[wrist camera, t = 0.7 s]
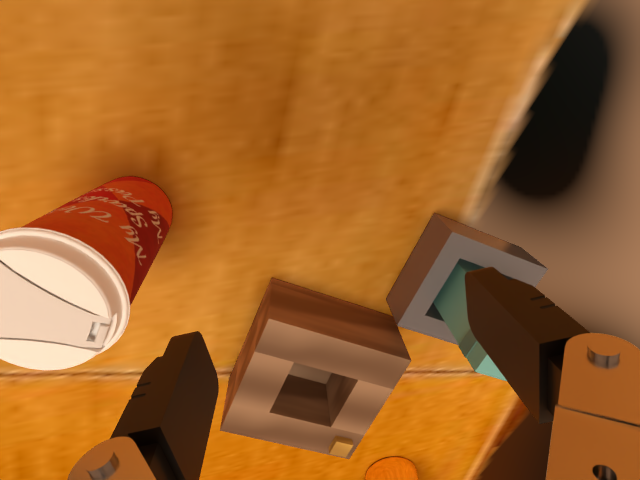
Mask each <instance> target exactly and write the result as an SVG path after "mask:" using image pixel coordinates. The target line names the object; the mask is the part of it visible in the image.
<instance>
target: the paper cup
mask: <svg viewBox="0 0 640 480" xmlns="http://www.w3.org/2000/svg"><path fill="white" fill-rule="evenodd" d="M171 222H172V207H171V204H170V201H169V199H168V197H167V196H166V194H165V193H164V192H163V191H162V190H161V189H160V188H159V187H158V186H157V185H155V184H154V183H152V182H150V181H148V180H146V179H143V178H139V177H132V176H128V177H121V178H117V179H115V180H112V181H110V182H108V183H106V184H104V185H101V186H100V187H98V188H96V189H94V190H92V191H90V192H88V193H86V194H84V195H82V196H80V197H78V198H76V199H74V200H72V201H70V202H68V203H67V204H65V205H63V206H61V207H59V208H57V209H55V210H53V211H51V212H49V213H48V214H46V215H44V216H42V217H40V218H38V219H36V220H34V221H32V222H30V223H29V224H27V225H25V226H23V227H21V228H13V229H8V230H4V231H0V359H2V360H4V361H7V362H9V363H12V364H15V365H18V366H21V367H26V368H30V369H38V370H58V369H66V368H69V367H73V366H76V365H79V364H81V363H84V362H86V361H88V360H89V359H91V358H92V357H94V356H95V355H97V354H99V353H102V352H103V351H105V350H106V349H108V348H110V347H111V346H112V345H113V344H114V343H115V342H116V341H117V340H118V339H119V338H120V337H121V335H122V334H123V332H124V330H125V328H126V326H127V324H128V320H129V316H130V305H131V303H132V302H133V300H134V298H135V296H136V294H137V292H138V290H139V288H140V286H141V284H142V282H143V280H144V278H145V276H146V274H147V273H148V271H149V269H150V267H151V265H152V263H153V261H154V259H155V257H156V255H157V253H158V251H159V249H160V247H161V245H162V243H163V241H164V239H165V237H166V235H167V233H168V230H169V228H170V225H171Z"/></svg>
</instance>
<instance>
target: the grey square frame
mask: <svg viewBox="0 0 640 480" xmlns="http://www.w3.org/2000/svg"><path fill="white" fill-rule="evenodd" d="M460 258H461V259H464V260H466V261H469V262H472V263H474V264H477V265H480V266H482V267H485V268H487V267H494V268H495V269H496V270H498V271H499V272H500V273H501V274H502V275H503V276H504V277H506V278H507V279H508V280H511V279H517V280H520V281H522V282H525V283H527V284H530V285H532V286H534V287H536V285H537V284H538V282H539V281H540V280H541V278H542V277H543V275H544V274H545V273H546V271H547V270H548V269H547V268H546V267H545V266H544V265H542V264H541V263H540V262H539V261H537V260H536V259H535V258H534V257H532V256H531V255H530V254H529V253H527V252H526V251H525V250H524V249H522V248H521V247H519V246H516V245H514V244H511V243H509V242H506V241H504V240H501V239H499V238H496V237H494V236H491V235H489V234H486V233H483V232H481V231H479V230H476V229H474V228H471V227H469V226H466V225H463V224H461V223H458V222H456V221H453V220H451V219H448V218H446V217H443V216H441V215H438V214H436V213H434V214H433V216H432V218H431V220H430V221H429V223H428V225H427V227H426V228H425V230H424V232H423V234H422V236H421V237H420V239H419V241H418V243H417V245H416V246H415V248H414V250H413V252H412V254H411V255H410V257H409V259H408V261H407V262H406V264H405V266H404V268H403V270H402V271H401V273H400V275H399V277H398V279H397V280H396V282H395V284H394V286H393V288H392V289H391V291H390V293H389V295H388V296H387V298H386V300H387V302H388V305H389V307H390V310H391V312H392V315H393V317H394V319H395V322H396V324H397V326H400V327H403V328H406V329H409V330H412V331H416V332H419V333H422V334H425V335H428V336H432V337H435V338H438V339H441V340H444V341H447V342H451V343H454V344H457V345H459V344H458V343H457V341H456V339H455V338H454V336H453V334H452V333H451V331H450V329H449V328H448V326H447V324H446V323H445V321H444V319H443V318H442V316H441V315H440V313H439V311H438V310H437V308H436V306H435V305H434V303H433V301H434V299H435V298H436V296H437V295H438V293H439V291H440V290H441V288H442V286H443V285H444V283H445V282H446V280H447V278H448V277H449V275H450V273H451V272H452V270H453V269H454V267H455V265H456V264H457V262H458V260H459V259H460Z"/></svg>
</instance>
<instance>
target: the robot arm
mask: <svg viewBox="0 0 640 480" xmlns="http://www.w3.org/2000/svg"><path fill="white" fill-rule="evenodd" d="M465 290H466V303H467V315H468V322H469V325H470V328H471V331H472V333H473V335H474V337H475V338H476V340H477V341H478V342H479V344H480V345H481V346H482V348H483V349H484V350H485V352H486V353H487V354H488V356H489V357H490V358H491V360H492V361H493V363H494V364H495V365H496V367H497V368H498V369H499V371H500V372H501V373H502V375H503V376H504V377H505V379H506V380H507V381H508V383H509V384H510V385H511V387H512V388H513V389H514V391H515V392H516V393H517V395H518V396H519V398H520V399H521V400H522V402H523V403H524V404H525V406H526V407H527V408H528V410H529V411H530V412H531V414H532V415H533V416H534V418H535V419H536V420H537V422H538V423H539V424H542V423H547V422H551V421H553V427H552V436H551V443H550V451H549V458H548V466H547V474H546V480H640V350H639V349H638V348H636V347H635V346H634V345H633V344H631V343H629V342H627V341H625V340H623V339H621V338H618V337H615V336H611V335H607V334H600V333H590V332H588V331H587V330H586V329H585V328H584V327H583V326H581V325H580V324H579V323H578V322H576V321H575V320H574V319H573V318H572V317H570V316H569V315H568V314H567V313H565V312H564V311H563V310H562V309H560V308H559V307H558V306H555V304H554V303H553V302H552V301H551V300H550V299H548V298H547V297H546V298H545V296H544V295H543V294H542V293H541V292H540V291H539V290H537V289H536V288H535V287H534V286H532V285H530V284H527V283H525V282H522V281H520V280H517V279H511V280H508V279H507V278H506V277H504V276H503V275H502V274H501V273H500V272H499V271H498V270H496V269H495V268H494V267H487V268H483V269H478V270H474V271H469V272H466V274H465ZM218 388H219V387H218V378H217V373H216V370H215V368H214V365H213V363H212V360H211V357H210V355H209V352H208V350H207V347H206V344H205V342H204V339H203V337H202V335H201V333H200V332H198V331H196V332H192V333H187V334H183V335H178V336H174V337H172V338H171V340H170V342H169V344H168V346H167V348H166V350H165V353H164V355H163V356H162V357H157V358H156V359H155V360H154V361H153V362H152V363H151V364H150V365H149V366H148V367H147V368H146V369H145V370H144V372H143V374H142V376H141V378H140V380H139V382H138V384H137V388H135V390H134V392H133V394H132V396H131V399H130V400H129V402H128V404H127V406H126V408H125V410H124V412H123V414H122V416H121V418H120V420H119V422H118V424H117V426H116V428H115V430H114V432H113V434H112V436H111V438H110V439H109V440H106V441H104V442H102V443H100V444H98V445H97V446H95V447H94V448H92V449H91V450H89V451H88V452H87V453H86V454H85V455H84V456H83V457H82V458H81V459H80V460H79V461H78V462H77V463H76V464H75V466H74V467H73V469H72V470H71V472H70V474H69V477H68V480H199V477H200V473H201V468H202V464H203V459H204V455H205V450H206V446H207V441H208V437H209V432H210V428H211V423H212V419H213V414H214V410H215V405H216V401H217V397H218Z"/></svg>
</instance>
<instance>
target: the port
mask: <svg viewBox="0 0 640 480" xmlns="http://www.w3.org/2000/svg"><path fill="white" fill-rule="evenodd" d="M410 362H411V359H410V356H409V354H408V351H407V349H406V347H405V344H404V342H403V339H402V337H401V335H400V332H399V330H398V327H397V325H396V322H395V320H394V318H393V316H390V315H387V314H384V313H381V312H377V311H374V310H371V309H368V308H365V307H362V306H359V305H356V304H352V303H349V302H346V301H343V300H340V299H337V298H334V297H331V296H327V295H324V294H321V293H318V292H315V291H312V290H309V289H306V288H303V287H299V286H296V285H293V284H290V283H287V282H284V281H281V280H278V279H274V278H271V281H270V283H269V285H268V288H267V290H266V292H265V295H264V297H263V300H262V302H261V304H260V307H259V309H258V311H257V314H256V316H255V319H254V321H253V323H252V326H251V328H250V330H249V333H248V335H247V338H246V340H245V342H244V345H243V347H242V349H241V352H240V354H239V357H238V359H237V361H236V364H235V366H234V368H233V371H232V373H231V375H230V378H229V383H228V389H227V394H226V400H225V405H224V411H223V417H222V422H221V428H220V431H225V432H229V433H234V434H238V435H243V436H247V437H252V438H256V439H261V440H265V441H270V442H274V443H279V444H283V445H288V446H292V447H297V448H301V449H306V450H310V451H315V452H319V453H324V454H328V455H333V456H337V457H342V458H346V459H350V457H351V455H352V454H353V452H354V451H355V449H356V448H357V446H358V444H359V443H360V441H361V440H362V438H363V436H364V435H365V433H366V432H367V430H368V429H369V427H370V425H371V424H372V422H373V421H374V419H375V417H376V416H377V414H378V413H379V411H380V409H381V408H382V406H383V405H384V403H385V402H386V400H387V398H388V397H389V395H390V394H391V392H392V390H393V389H394V387H395V386H396V384H397V383H398V381H399V379H400V378H401V376H402V375H403V373H404V371H405V370H406V368H407V367H408V365H409V363H410Z"/></svg>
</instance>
